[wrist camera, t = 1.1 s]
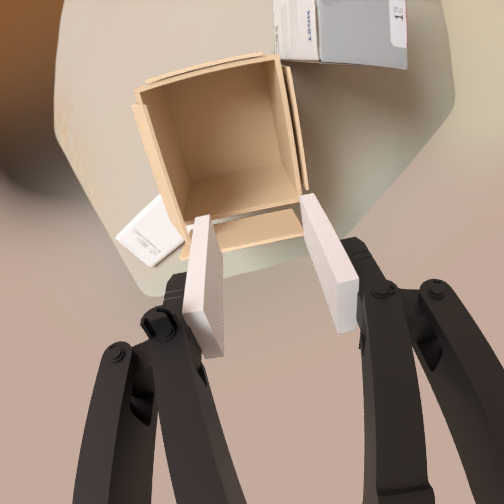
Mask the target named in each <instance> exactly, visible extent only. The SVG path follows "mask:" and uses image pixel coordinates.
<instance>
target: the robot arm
mask: <svg viewBox="0 0 504 504" xmlns="http://www.w3.org/2000/svg"><path fill="white" fill-rule="evenodd" d="M299 200H300V208H301V215H302V223H303V231H304V239H305V243H306V245H307V248H308V251H309V253H310V256H311V259H312V262H313V264H314V267H315V270H316V272H317V275H318V278H319V280H320V284H321V286H322V289H323V292H324V295H325V298H326V300H327V303H328V306H329V309H330V312H331V315H332V318H333V321H334V323H335V327H336V329H337V332H338V334H341V333H345V332H349V331H353V330H356V327H357V322H358V325H359V327H360V330H361V332H360V342H359V349H361V358H362V372H363V373H362V374H363V394H364V425H365V427H364V428H365V429H364V430H365V457H364V461H365V462H364V492H363V504H435V496H434V491H433V488H432V487H431V486H430V484H429V482H428V476H427V459H426V445H425V433H424V424H423V414H422V406H421V399H420V392H419V385H418V379H417V372H416V367H415V361H414V356H413V351H412V347H413V349H414V351H415V353H416V355H417V357H418V359H419V361H420V363H421V365H422V368H423V370H424V372H425V374H426V376H427V378H428V381H429V383H430V385H431V387H432V390H433V392H434V394H435V396H436V399H437V401H438V403H439V405H440V408H441V410H442V413H443V415H444V417H445V419H446V422H447V425H448V427H449V430H450V432H451V435H452V437H453V440H454V443H455V445H456V448H457V451H458V453H459V456H460V459H461V461H462V465H463V467H464V470H465V473H466V476H467V479H468V482H469V485H470V488H471V491H472V494H473V497H474V500H475V502H476V504H504V369H503V367H502V365H501V363H500V362H499V360H498V359H497V357H496V355H495V353H494V351H493V350H492V348H491V346H490V345H489V343H488V342H487V340H486V338H485V337H484V335H483V334H482V332H481V330H480V329H479V327H478V326H477V324H476V323H475V321H474V320H473V318H472V317H471V315H470V314H469V312H468V311H467V309H466V308H465V306H464V305H463V303H462V302H461V301H460V299H459V298H458V296H457V295H456V293H455V292H454V291H453V289H452V288H451V287H450V286H449V285H448V284H447V283H446V282H444V281H442V280H438V279H430V280H427V281H425V282H423V284H422V285H421V286H420V290H413V289H409V290H408V289H400V288H398V287H397V286H396V285H395V284H394V283H393V282H392V281H389V280H386V279H385V277H384V275H383V273H382V272H381V270H380V268H379V267H378V265H377V264H376V262H375V260H374V258H372V255H371V253H370V252H369V250H368V248H367V247H366V245H365V243H364V242H362V241H361V240H359V239H358V238H357V237H353V238H347V239H342V240H339V238H338V236H337V234H336V233H335V231H334V229H333V227H332V225H331V223H330V221H329V220H328V218H327V216H326V214H325V212H324V211H323V209H322V207H321V205H320V203H319V202H318V200H317V198H316V196H315V195H314V193H311V194H306V195H301V196H299ZM165 292H166V293H165V296H164V302H163V305H162V306H156V307H154V308H152V309H150V310H149V311H147V312H146V313H145V314H144V316H143V317H142V319H141V323H140V325H141V327H142V328H143V330H144V331H145V333H146V334H147V336H148V338H149V339H148V340H147V341H145V342H143V343H140V344H138V345H135V346H133V347H131V346H130V344H128V343H126V342H120V341H119V342H116V343H113V344H112V345H110V346H109V347H108V348H107V349H106V350H105V352H104V354H103V356H102V359H101V362H100V366H99V370H98V373H97V377H96V381H95V385H94V389H93V393H92V397H91V401H90V406H89V410H88V415H87V419H86V424H85V429H84V434H83V439H82V444H81V449H80V455H79V461H78V467H77V473H76V479H75V487H74V494H73V503H72V504H151V494H152V475H153V461H154V449H155V436H156V427H157V426H156V425H157V416H158V412H159V418H160V424H161V430H162V436H163V442H164V447H165V452H166V457H167V462H168V467H169V472H170V476H171V481H172V486H173V489H174V494H175V498H176V502H177V504H247V503H246V500H245V497H244V494H243V492H242V489H241V486H240V483H239V480H238V477H237V474H236V471H235V468H234V465H233V462H232V459H231V456H230V453H229V450H228V447H227V443H226V440H225V437H224V434H223V430H222V427H221V424H220V420H219V417H218V414H217V411H216V407H215V403H214V400H213V396H212V393H211V389H210V386H209V382H208V378H207V375H206V371H205V368H204V366H203V364H202V362H201V353H203V355H204V357H205V359H209V358H216V357H223V356H224V333H223V332H224V331H223V256H222V253H221V250H220V246H219V243H218V240H217V237H216V233H215V230H214V227H213V224H212V220H211V217H210V214H209V215H204V216H200V217H196V218H195V222H194V228H193V235H192V241H191V248H190V255H189V262H188V269H187V272H184V273H179V274H174V275H172V277H171V278H170V279H169V281H168V282H167V286H166V291H165Z"/></svg>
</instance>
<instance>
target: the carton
mask: <svg viewBox="0 0 504 504" xmlns="http://www.w3.org/2000/svg"><path fill="white" fill-rule="evenodd" d="M263 54H264V52H263V51H262V52H256V53H251V54H245V55H240V56H235V57H230V58H225V59H221V60H216V61H212V62H208V63H204V64H200V65H196V66H192V67H188V68H184V69H181V70H177V71H174V72H170V73H167V74H164V75H160V76H157V77H154V78H151V79H148V80H145V83H148V82H151V81H154V80H157V81H154V82H151V83H149V84H146V85H144V86H141V87H139V88H136V89H134V93H135V96H136V100H137V103H138V104H141V105H146V106H147V109H148V113H149V116H150V119H151V123H152V126H153V129H154V132H155V136H156V139H157V142H158V145H159V148H160V151H161V155H162V158H163V161H164V164H165V167H166V170H167V173H168V176H169V179H170V182H171V185H172V188H173V191H174V194H175V197H176V200H177V203H178V206H179V209H180V212H181V214H182V217H183V220H184V223H185V226H188V225H192V224H194V222H195V218H196V217H200V216H204V215H209V214H210V217H211V220H214V219H219V218H224V217H228V216H233V215H238V214H242V213H247V212H252V211H257V210H262V209H266V208H271V207H276V206H281V205H286V204H292V203H297V202H300V200H299V196H301V195H302V190H301V183H300V180H301V182H302V184H303V185H304V187H305V189H306V190H309V187H308V179H307V171H306V164H305V156H304V149H303V142H302V135H301V129H300V122H299V116H298V109H297V103H296V97H295V91H294V86H293V80H292V74H291V69H290V67H289V66H283V65H281V62H280V57H279V54H269V55H263ZM257 55H260V56H257ZM251 56H254V57H251ZM246 57H249V58H246ZM240 58H243V59H240ZM235 59H238V60H235ZM230 60H233V61H230ZM226 61H228V62H226ZM221 62H224V63H221ZM217 63H219V64H217ZM212 64H215V65H212ZM208 65H210V66H208ZM204 66H206V67H204ZM200 67H202V68H200ZM196 68H198V69H196ZM192 69H194V70H192ZM188 70H191V71H188ZM185 71H187V72H185ZM181 72H183V73H181ZM178 73H180V74H178ZM174 74H176V75H174ZM171 75H173V76H171ZM167 76H169V77H167ZM164 77H166V78H164ZM161 78H163V79H161ZM158 79H159V80H158Z"/></svg>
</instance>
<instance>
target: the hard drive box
mask: <svg viewBox="0 0 504 504" xmlns="http://www.w3.org/2000/svg"><path fill="white" fill-rule="evenodd" d="M273 14H274V38H275V54H279V57H280V62H288V61H292V62H307V63H320V64H338V65H356V66H372V67H383V68H393V69H403V70H407V47H408V45H407V15H406V0H273Z"/></svg>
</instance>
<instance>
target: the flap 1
mask: <svg viewBox="0 0 504 504" xmlns="http://www.w3.org/2000/svg"><path fill="white" fill-rule="evenodd" d="M131 106H132V110H133V113H134V116H135V119H136V123H137V126H138V129H139V132H140V135H141V138H142V141H143V144H144V148H145V151H146V154H147V157H148V160H149V163H150V165H151V168H152V171H153V174H154V177H155V180H156V183H157V186H158V188H159V191H160V194H161V197H162V200H163V202H164V205H165V208H166V211H167V213H168V216H169V219H170V221H171V223H172V224H173V225H174V227H175V228H176V230H177V231H178V232H179V234H180V235H181V236H182V238H183V239H184V240H185V242H186V243H187V244H188V246H189V247H191V240H190V237H189V234H188V231H187V229H186V226H185V223H184V220H183V217H182V214H181V212H180V209H179V206H178V203H177V200H176V197H175V194H174V191H173V188H172V185H171V182H170V179H169V176H168V173H167V170H166V167H165V164H164V161H163V158H162V155H161V151H160V148H159V145H158V142H157V139H156V136H155V132H154V129H153V126H152V123H151V119H150V116H149V113H148V109H147V106H146V105H141V104H133V105H131Z"/></svg>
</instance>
